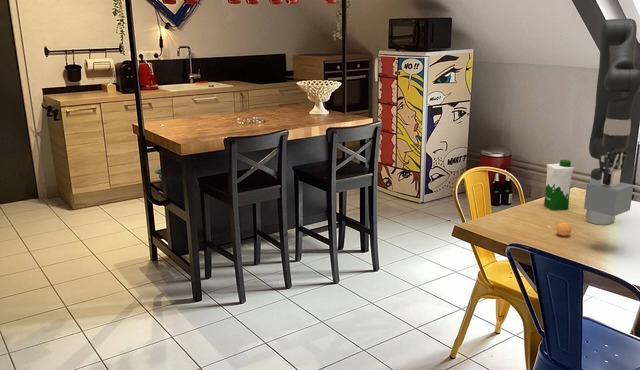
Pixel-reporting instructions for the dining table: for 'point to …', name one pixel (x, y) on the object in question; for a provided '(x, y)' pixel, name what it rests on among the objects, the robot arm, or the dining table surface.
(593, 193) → the tissue box
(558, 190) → the milk carton
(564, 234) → the ball
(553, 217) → the dining table surface
